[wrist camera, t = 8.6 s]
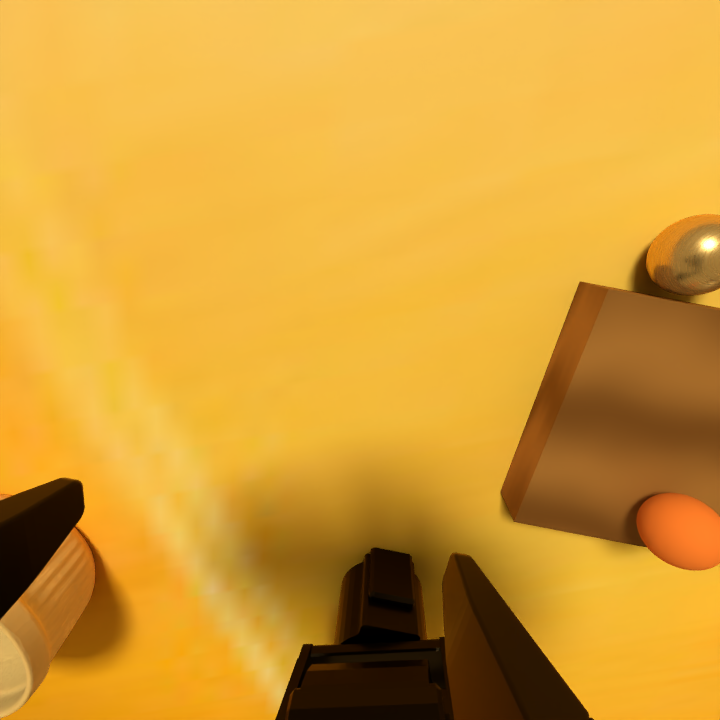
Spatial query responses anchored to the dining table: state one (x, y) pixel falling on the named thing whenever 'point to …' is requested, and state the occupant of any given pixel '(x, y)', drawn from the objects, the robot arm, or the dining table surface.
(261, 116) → the dining table surface
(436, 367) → the dining table surface
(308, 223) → the dining table surface
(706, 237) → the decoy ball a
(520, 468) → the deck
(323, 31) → the dining table surface
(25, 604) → the ramekin
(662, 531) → the ball
